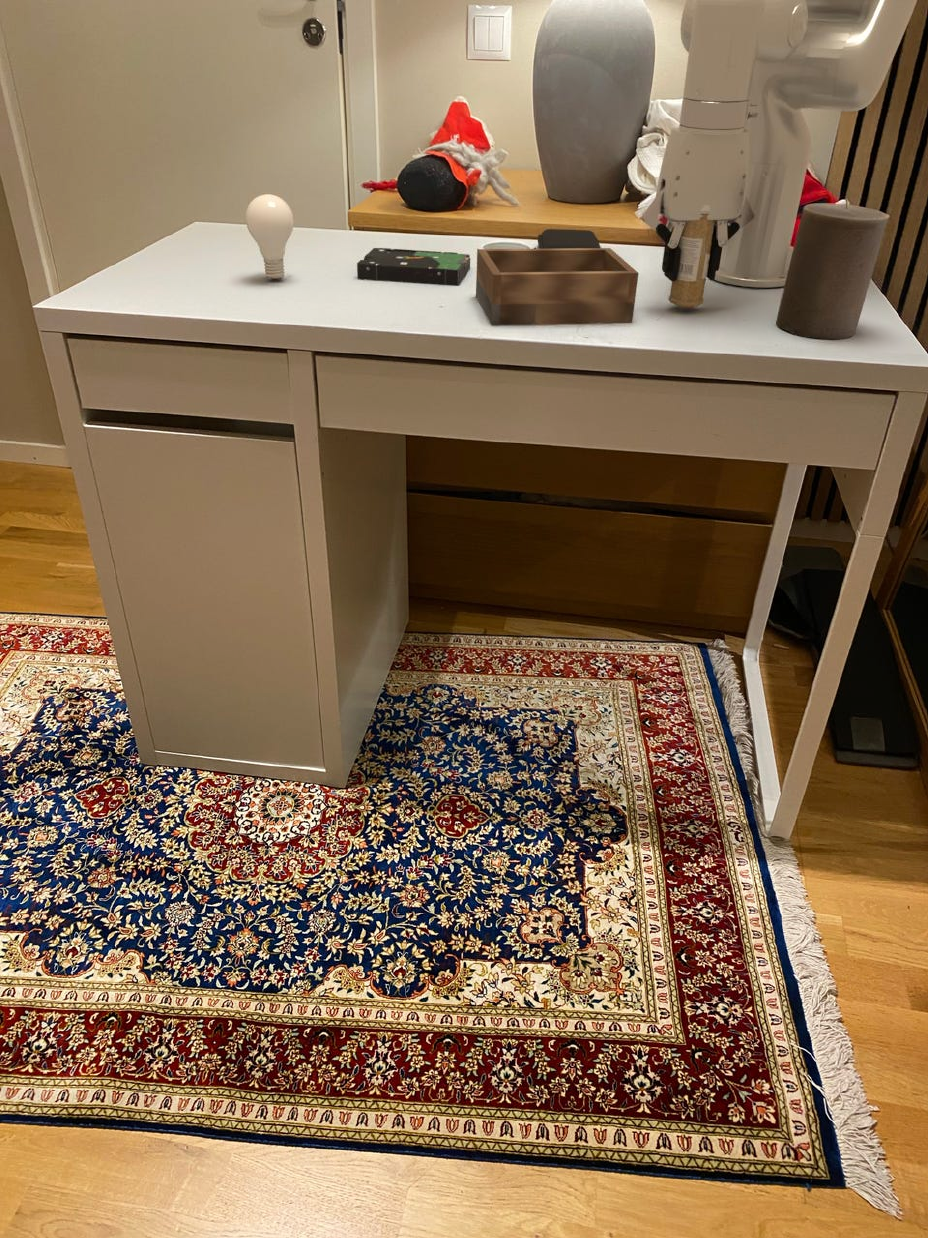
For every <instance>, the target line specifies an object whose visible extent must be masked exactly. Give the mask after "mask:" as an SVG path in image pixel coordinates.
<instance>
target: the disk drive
mask: <svg viewBox="0 0 928 1238" xmlns="http://www.w3.org/2000/svg"><path fill="white" fill-rule="evenodd" d="M470 256H471V255H470V254H466V253H458V252H453V251H452V252H450V251H447V252H446V251H444V252H442V251H434V250H433V251H432V250H431V251H430V250H415V249H404V248H403V249H402V248H389V247H373V248H372V249H371V250H370V251H369V252H368V253H366V254H365V255H364V257H363V259H360V260H359V261H358V262H357V263H356V273H357V274H356V275H357V280H362V281H363V280H365V281H381V282H397V283H408V284H409V283H411V284H424V285H425V284H426V285H439V286H452V287H453V286H454V287H455V286H457V287H458V286H460V285H461V283H462V282H463V280H464V279H465V277H466V275H467V274H468V273H469V271H470V269H471V257H470ZM467 272H468V273H467Z"/></svg>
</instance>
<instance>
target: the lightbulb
mask: <svg viewBox="0 0 928 1238" xmlns="http://www.w3.org/2000/svg"><path fill="white" fill-rule="evenodd" d="M245 224H246V228H247V229H248V232H249V233H250V235H251V237H252V239H254V241H255V242H256V243H257V246H258V248H259V252H260V255H261V256H262V258H263V263H264V265H263V266H264V272H265V273H264V277H267V278H268V279H269V280H271V281H274V282H277V281H280V280H281V279H282V278H284V277H285V268H284V267H285V265H284V260H285V259H284V257H285V254H286V246H287V243H288V241H289V238H290V237H291V235H292V232H293V229H294V224H295V222H294V215H293V212H292V209H291V207H290V206H289V204H288V203H287V202H286V201H285V200H284V199H283V198H282V197H279V196H278V195H274V194H270V193H267V194H266V193H265V194H260V195H258V196H256V197H255V198H253V199H252V200H251V201H250V203H249V204H248V206H247V208H246V211H245Z"/></svg>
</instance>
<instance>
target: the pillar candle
mask: <svg viewBox="0 0 928 1238" xmlns="http://www.w3.org/2000/svg"><path fill="white" fill-rule="evenodd" d="M890 218H891V217H890V215H889V214H887V213H885V212H882V210H881V211H880V210H878V209H877V210H876V209H874V208H868V207H864V206H859V205H851V204H849V203H848V198H845V204H844V203H827V202H825V203H823V202H822V203H820V202H818V203H809V204H806V205H805V206H803V209H802V212H801V216H800V220H799V224H798V227H797V232H796V236H795V241H794V246H793V247H794V249H793V252H792V256H791V261H790V265H789V270H788V274H787V277H786V281H785V286H783V292H782V295H781V299H780V304H779V308H778V313H777V319H776V321H775V322H776V326H778V327H779V328H780V329H782V330H785V331H787V332H788V333H791V334H794V335H796V336H799V337H805V338H812V339H818V340H819V339H821V340H840V339H843V340H844V339H847V338H851V337H853V336H854V335H855V334H856V331H857V330H858V326H859V322H860V319H861V314H862V312H863V308H864V305H865V301H866V297H867V294H868V290H869V286H870V283H871V279H872V276H873V273H874V270H875V266H876V263H877V258H878V256H879V251H880V249H881V245H882V241H883V237H884V234H885V230H886V226H887V224H888V220H889V219H890Z"/></svg>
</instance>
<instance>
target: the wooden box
mask: <svg viewBox="0 0 928 1238" xmlns="http://www.w3.org/2000/svg"><path fill="white" fill-rule="evenodd" d="M475 275H476V280H475V281H476V283H475V298H476V299H477V301H478V302H479V304H480V307H481V308H482V310H483V312H484V315H485V316H486V317H487V320H488V322H489V324H490V325H491V326H512V325H515V326H517V325H518V326H519V325H520V326H521V325H522V326H523V325H524V326H525V325H527V326H528V325H566V324H567V325H569V324H572V325H574V324H575V325H576V324H618V323H621V324H622V323H623V324H626V323H633V319H634V314H635V313H634V311H635V304H636V296H637V288H638V280H639V272H638V271H637V270H636V269H635V268H633V266H631V265H630V264H629V263H628V262H627V261H625V259H623V258H622V257H621V256H619V254H617V253H616V252H615V251H614V249H612V248H610V247H601V248H561V249H539V248H537V249H534V248H477V252H476V274H475Z"/></svg>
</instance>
